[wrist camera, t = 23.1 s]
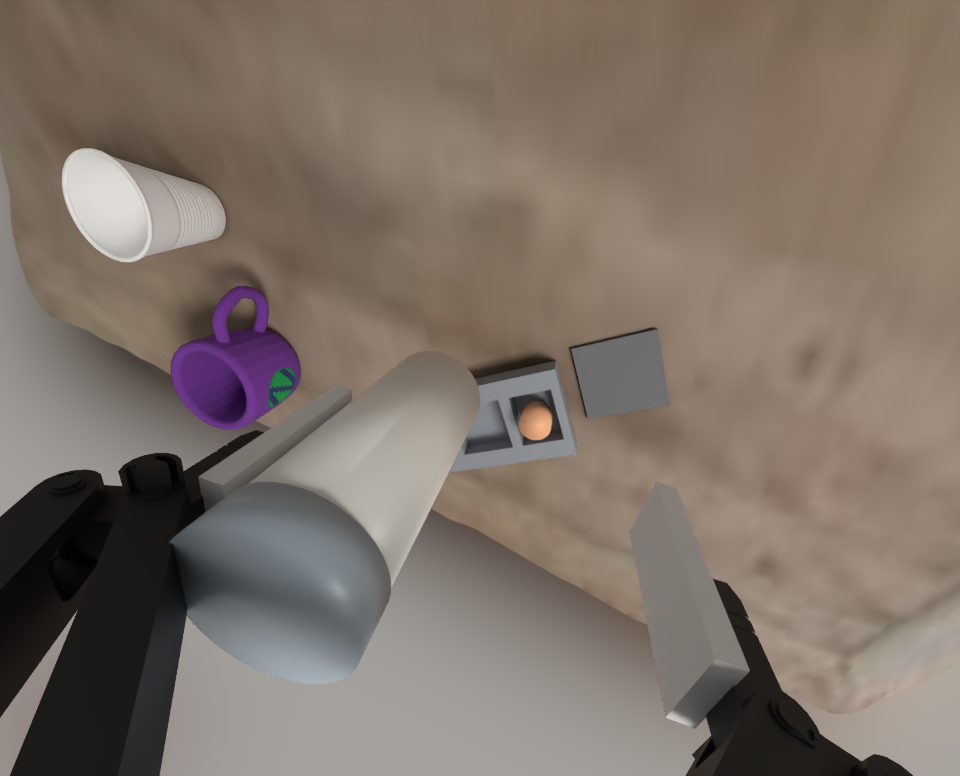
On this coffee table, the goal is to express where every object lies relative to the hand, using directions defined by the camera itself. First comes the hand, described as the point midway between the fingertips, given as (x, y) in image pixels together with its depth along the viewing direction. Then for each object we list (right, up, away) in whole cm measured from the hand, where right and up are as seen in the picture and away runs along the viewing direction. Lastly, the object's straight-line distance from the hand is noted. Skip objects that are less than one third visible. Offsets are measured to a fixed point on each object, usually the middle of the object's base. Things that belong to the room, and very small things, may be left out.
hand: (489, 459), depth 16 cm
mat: (+15, +4, +26) cm, 31 cm away
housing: (0, -1, +32) cm, 32 cm away
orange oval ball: (+6, 0, +28) cm, 29 cm away
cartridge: (-3, +3, +4) cm, 6 cm away
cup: (-34, +25, +30) cm, 52 cm away
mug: (-29, +9, +35) cm, 47 cm away
